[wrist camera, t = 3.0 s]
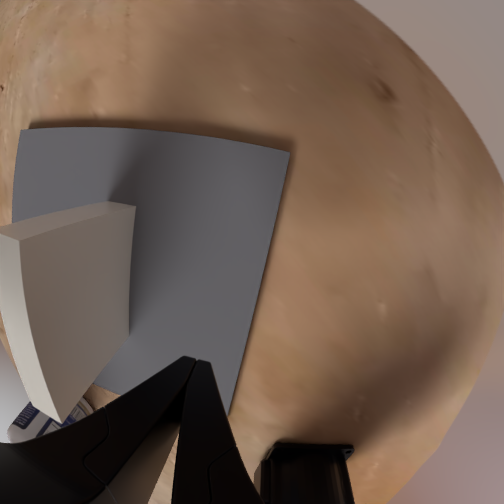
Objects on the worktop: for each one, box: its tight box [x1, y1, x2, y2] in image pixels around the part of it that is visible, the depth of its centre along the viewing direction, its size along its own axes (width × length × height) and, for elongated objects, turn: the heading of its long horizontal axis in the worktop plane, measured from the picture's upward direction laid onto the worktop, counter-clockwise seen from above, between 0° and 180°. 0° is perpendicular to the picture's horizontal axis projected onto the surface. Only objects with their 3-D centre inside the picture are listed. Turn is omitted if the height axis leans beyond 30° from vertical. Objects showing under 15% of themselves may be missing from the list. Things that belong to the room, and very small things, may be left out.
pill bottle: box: [7, 397, 93, 443], centre depth 12 cm, size 5×5×10 cm
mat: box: [12, 127, 290, 415], centre depth 13 cm, size 16×16×1 cm
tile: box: [0, 201, 136, 424], centre depth 9 cm, size 2×7×7 cm, turn 168°
